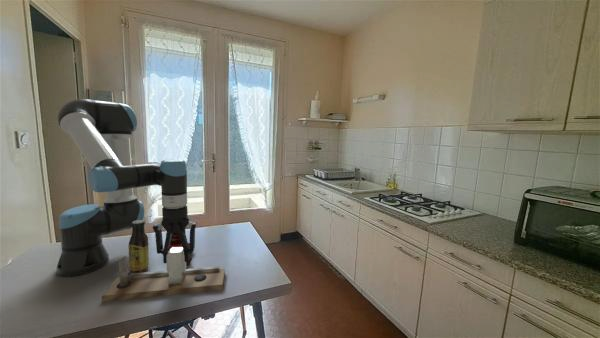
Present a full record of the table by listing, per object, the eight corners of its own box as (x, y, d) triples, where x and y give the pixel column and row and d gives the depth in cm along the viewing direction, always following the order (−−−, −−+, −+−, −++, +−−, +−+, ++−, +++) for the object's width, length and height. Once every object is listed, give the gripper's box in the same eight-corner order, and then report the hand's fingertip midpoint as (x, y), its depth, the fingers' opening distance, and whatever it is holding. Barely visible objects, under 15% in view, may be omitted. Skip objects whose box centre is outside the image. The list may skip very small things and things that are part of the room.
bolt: (191, 253, 111) (186, 269, 96) (180, 249, 109) (174, 265, 95) (197, 242, 111) (193, 257, 97) (187, 238, 109) (181, 252, 95)
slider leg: (168, 285, 80) (167, 254, 79) (173, 275, 86) (172, 246, 85) (181, 283, 81) (180, 253, 80) (185, 274, 87) (184, 245, 86)
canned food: (180, 241, 118) (179, 219, 117) (189, 245, 114) (188, 223, 112) (164, 246, 112) (163, 224, 111) (172, 251, 108) (172, 228, 106)
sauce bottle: (125, 273, 90) (122, 222, 87) (141, 265, 96) (139, 217, 93) (137, 277, 88) (135, 225, 85) (153, 268, 94) (151, 220, 91)
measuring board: (102, 301, 75) (99, 265, 73) (118, 282, 84) (116, 250, 83) (222, 289, 83) (222, 257, 81) (224, 273, 92) (224, 244, 91)
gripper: (141, 209, 75) (145, 279, 78) (199, 208, 78) (201, 274, 82) (151, 203, 82) (153, 266, 85) (203, 202, 86) (204, 263, 89)
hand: (176, 270), depth 83 cm, fingers closed on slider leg, 4 cm apart
